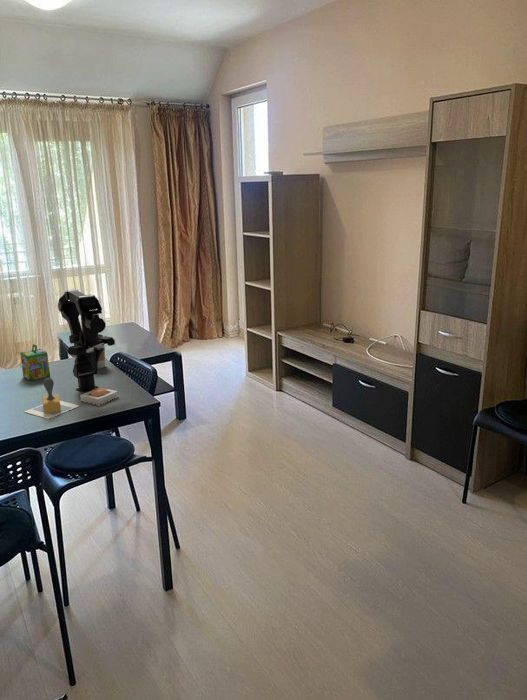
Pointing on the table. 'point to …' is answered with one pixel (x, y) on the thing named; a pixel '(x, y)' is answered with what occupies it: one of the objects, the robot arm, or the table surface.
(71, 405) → the paper sheet
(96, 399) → the button housing
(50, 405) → the rubber stamp
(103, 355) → the coffee cup
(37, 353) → the chalk box
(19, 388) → the table surface
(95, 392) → the button
